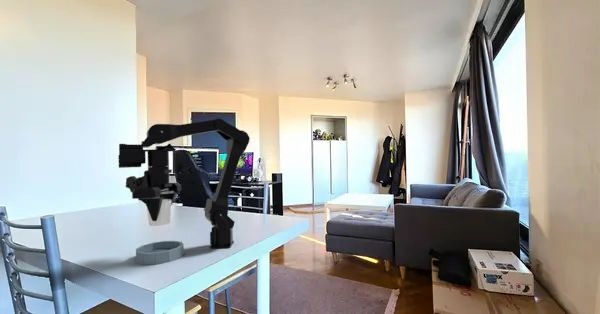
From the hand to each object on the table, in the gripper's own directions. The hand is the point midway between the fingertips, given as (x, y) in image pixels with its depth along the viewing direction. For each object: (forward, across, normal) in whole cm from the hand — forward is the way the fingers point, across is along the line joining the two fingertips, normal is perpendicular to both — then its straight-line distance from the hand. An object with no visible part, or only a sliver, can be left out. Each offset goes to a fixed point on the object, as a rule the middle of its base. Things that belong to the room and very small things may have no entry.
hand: (159, 218), depth 87 cm
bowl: (+11, 0, 0) cm, 11 cm away
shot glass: (+2, 0, 0) cm, 2 cm away
